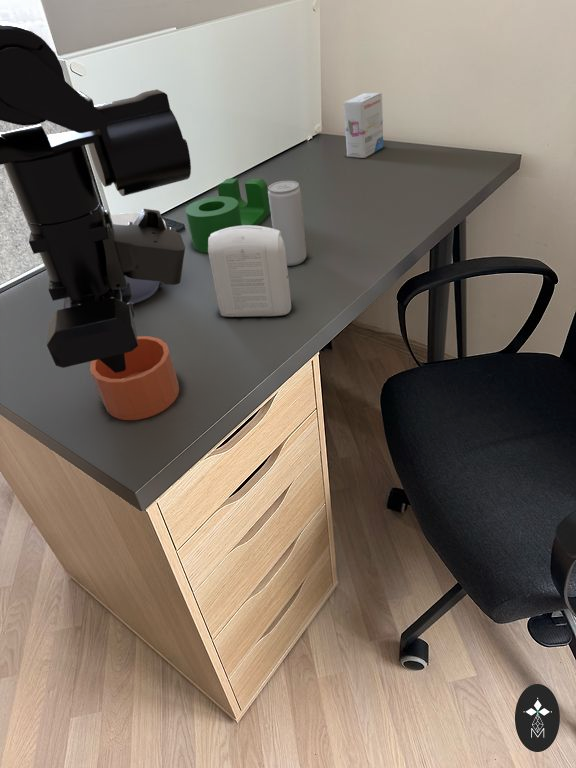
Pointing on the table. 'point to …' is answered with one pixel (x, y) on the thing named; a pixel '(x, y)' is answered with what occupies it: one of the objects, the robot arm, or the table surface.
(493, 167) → the table surface
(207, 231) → the green bracket
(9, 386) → the table surface
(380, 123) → the ink box
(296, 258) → the beverage can
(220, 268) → the white rounded block
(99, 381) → the cup
